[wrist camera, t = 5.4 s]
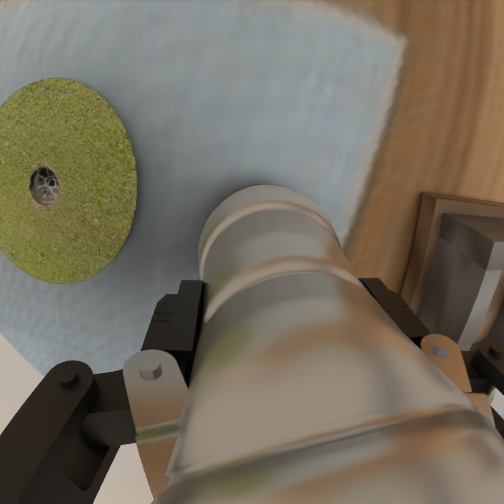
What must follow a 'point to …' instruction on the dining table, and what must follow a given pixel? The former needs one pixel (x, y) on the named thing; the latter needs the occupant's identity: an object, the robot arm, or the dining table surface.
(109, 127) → the green sanding disc
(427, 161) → the dining table surface
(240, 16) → the dining table surface
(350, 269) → the plastic bottle
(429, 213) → the stand
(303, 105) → the dining table surface
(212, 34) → the dining table surface
